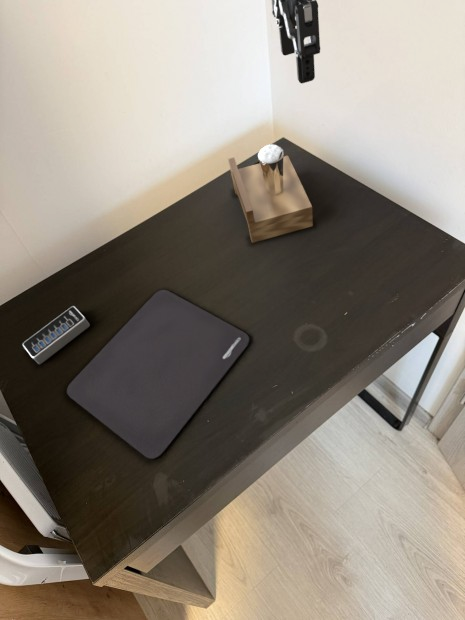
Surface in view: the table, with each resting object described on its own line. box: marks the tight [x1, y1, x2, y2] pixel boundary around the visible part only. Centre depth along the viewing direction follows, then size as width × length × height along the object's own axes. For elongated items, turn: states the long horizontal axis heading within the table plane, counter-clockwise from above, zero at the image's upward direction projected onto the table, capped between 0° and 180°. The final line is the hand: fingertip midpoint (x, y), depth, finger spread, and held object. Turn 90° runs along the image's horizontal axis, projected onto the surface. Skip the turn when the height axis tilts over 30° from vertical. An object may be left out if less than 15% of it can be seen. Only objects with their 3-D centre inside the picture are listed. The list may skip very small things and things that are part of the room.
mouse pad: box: [66, 289, 250, 460], centre depth 78 cm, size 25×21×1 cm
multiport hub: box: [22, 305, 91, 365], centre depth 84 cm, size 4×11×2 cm, turn 133°
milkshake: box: [257, 143, 285, 195], centre depth 86 cm, size 5×5×10 cm
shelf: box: [227, 155, 314, 244], centre depth 92 cm, size 12×16×8 cm
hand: (297, 66), depth 67 cm, fingers open, 8 cm apart
